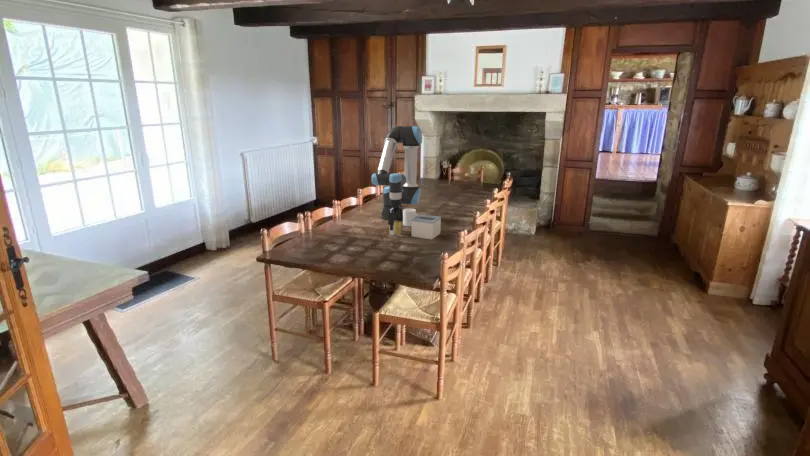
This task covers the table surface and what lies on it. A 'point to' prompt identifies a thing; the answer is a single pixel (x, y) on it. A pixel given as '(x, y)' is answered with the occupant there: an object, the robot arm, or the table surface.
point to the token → (397, 227)
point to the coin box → (426, 226)
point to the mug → (408, 217)
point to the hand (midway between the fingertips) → (395, 232)
